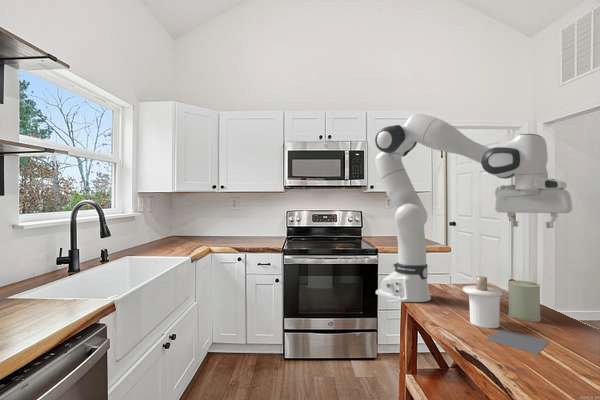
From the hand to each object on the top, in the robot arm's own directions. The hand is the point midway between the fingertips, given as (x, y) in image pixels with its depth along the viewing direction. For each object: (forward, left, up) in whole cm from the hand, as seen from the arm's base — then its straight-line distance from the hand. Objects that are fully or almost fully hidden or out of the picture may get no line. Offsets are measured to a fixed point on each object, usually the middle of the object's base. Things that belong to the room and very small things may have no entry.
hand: (531, 227), depth 106 cm
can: (-4, +6, -31) cm, 32 cm away
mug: (-11, -12, -31) cm, 35 cm away
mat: (+1, -20, -31) cm, 37 cm away
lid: (-11, -12, -21) cm, 26 cm away
